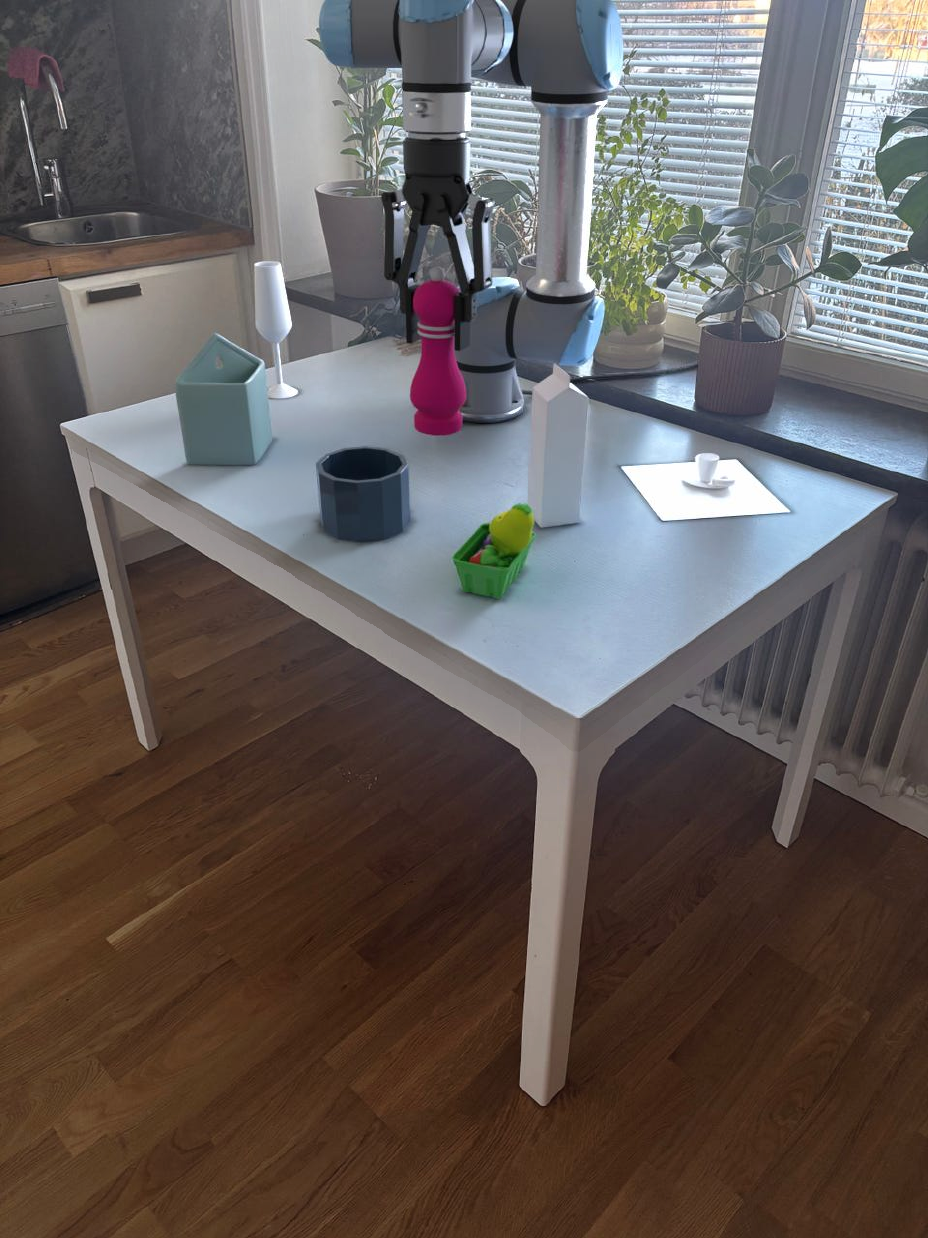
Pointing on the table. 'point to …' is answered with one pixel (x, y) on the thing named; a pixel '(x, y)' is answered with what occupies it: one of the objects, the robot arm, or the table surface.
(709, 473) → the teacup and saucer
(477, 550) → the fruit basket
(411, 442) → the table surface
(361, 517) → the crock
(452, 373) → the pepper mill
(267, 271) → the champagne flute
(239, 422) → the planter
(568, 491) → the milk
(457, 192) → the robot arm
